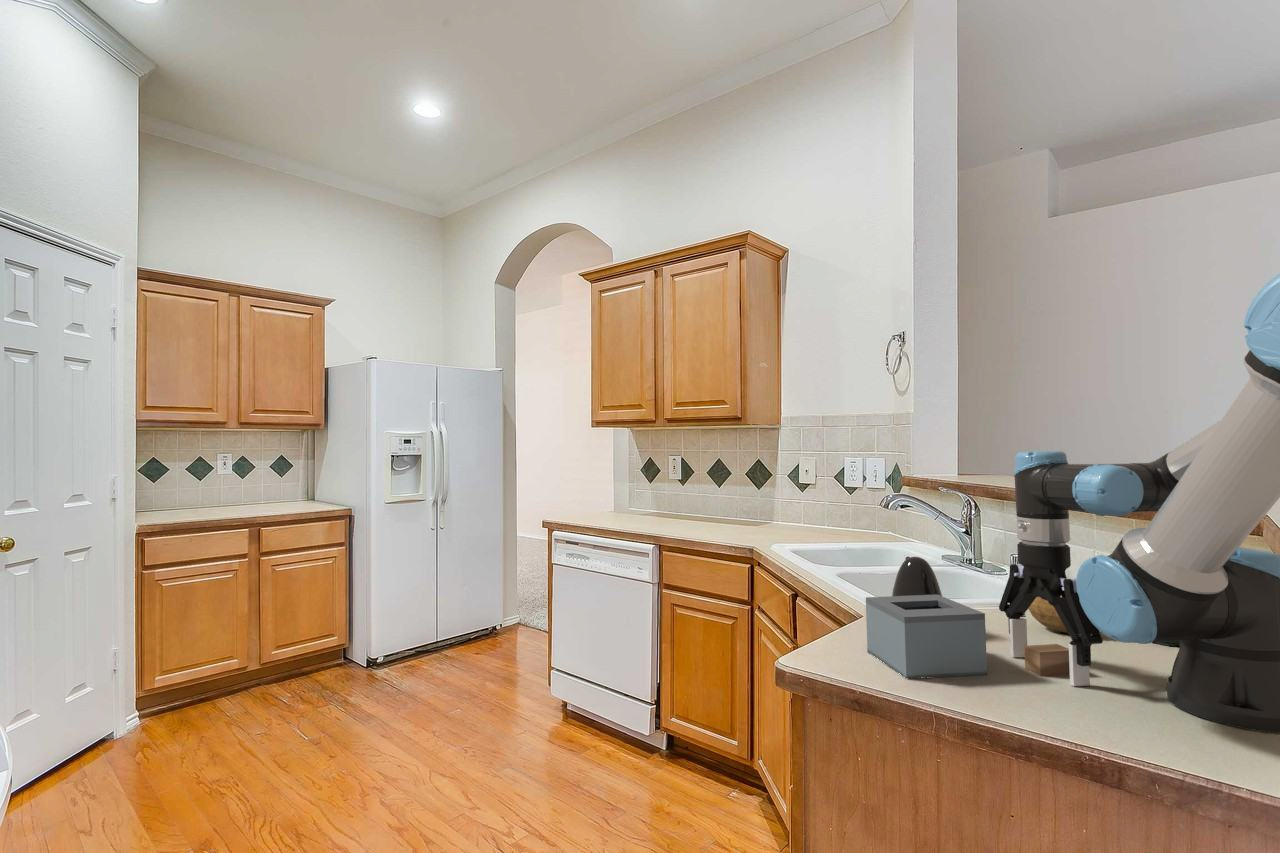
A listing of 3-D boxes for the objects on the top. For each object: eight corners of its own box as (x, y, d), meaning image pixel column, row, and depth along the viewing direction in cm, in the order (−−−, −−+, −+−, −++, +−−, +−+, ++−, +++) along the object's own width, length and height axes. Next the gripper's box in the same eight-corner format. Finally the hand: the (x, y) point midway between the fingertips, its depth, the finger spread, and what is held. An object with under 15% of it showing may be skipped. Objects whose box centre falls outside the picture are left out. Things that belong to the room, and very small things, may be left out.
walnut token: (1074, 674, 104) (1073, 650, 104) (1040, 677, 103) (1039, 652, 103) (1057, 667, 107) (1056, 643, 107) (1025, 669, 106) (1024, 645, 107)
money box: (987, 674, 104) (984, 613, 104) (906, 679, 103) (904, 617, 103) (939, 648, 118) (937, 594, 118) (867, 651, 117) (865, 597, 117)
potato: (1113, 643, 119) (1111, 601, 119) (1026, 632, 127) (1024, 592, 127) (1110, 630, 127) (1108, 590, 127) (1028, 621, 135) (1026, 583, 135)
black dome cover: (934, 624, 134) (932, 552, 134) (954, 639, 123) (951, 561, 124) (885, 624, 135) (882, 552, 135) (900, 638, 124) (897, 561, 125)
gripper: (975, 532, 118) (979, 646, 118) (1081, 556, 93) (1086, 700, 93) (1013, 531, 119) (1017, 644, 118) (1127, 554, 94) (1133, 698, 93)
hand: (1047, 670), depth 105 cm, fingers open, 13 cm apart
